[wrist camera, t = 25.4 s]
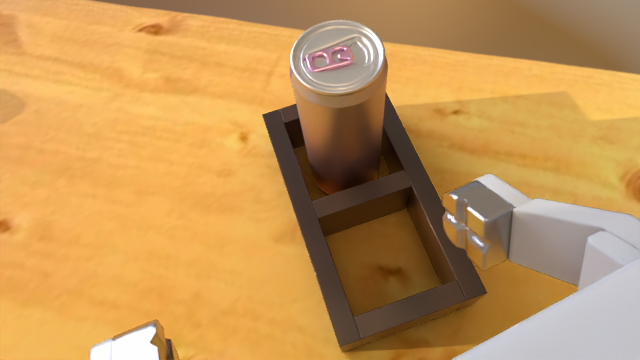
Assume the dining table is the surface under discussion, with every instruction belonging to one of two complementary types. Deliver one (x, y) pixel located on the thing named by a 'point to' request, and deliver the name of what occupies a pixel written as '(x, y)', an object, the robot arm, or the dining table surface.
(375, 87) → the beverage can
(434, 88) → the dining table surface
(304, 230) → the holder
